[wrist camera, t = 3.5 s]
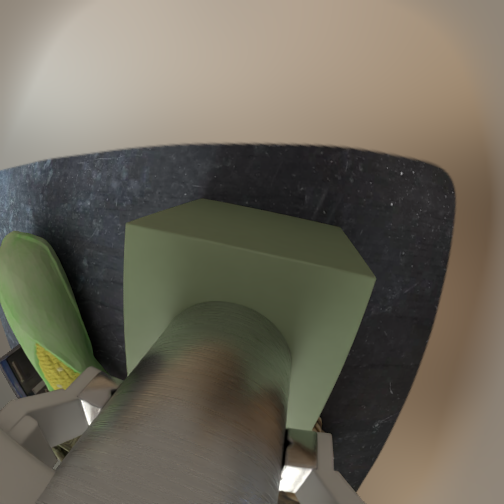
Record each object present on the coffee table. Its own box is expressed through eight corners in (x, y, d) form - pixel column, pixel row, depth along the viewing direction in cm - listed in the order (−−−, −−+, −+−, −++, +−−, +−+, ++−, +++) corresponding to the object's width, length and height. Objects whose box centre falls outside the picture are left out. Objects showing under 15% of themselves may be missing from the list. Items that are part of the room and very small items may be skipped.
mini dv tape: (54, 390, 31) (31, 413, 25) (49, 388, 31) (26, 411, 26) (28, 341, 29) (0, 362, 23) (23, 340, 29) (-4, 361, 24)
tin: (306, 318, 11) (293, 609, 1) (274, 414, 13) (238, 606, 3) (168, 285, 11) (-19, 475, 2) (164, 384, 13) (66, 546, 4)
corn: (40, 217, 18) (129, 422, 23) (60, 215, 25) (123, 379, 30) (-35, 250, 15) (61, 439, 20) (-3, 239, 22) (66, 396, 27)
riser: (340, 227, 20) (376, 278, 10) (305, 347, 23) (304, 444, 13) (201, 198, 21) (125, 222, 11) (186, 319, 23) (129, 397, 14)
